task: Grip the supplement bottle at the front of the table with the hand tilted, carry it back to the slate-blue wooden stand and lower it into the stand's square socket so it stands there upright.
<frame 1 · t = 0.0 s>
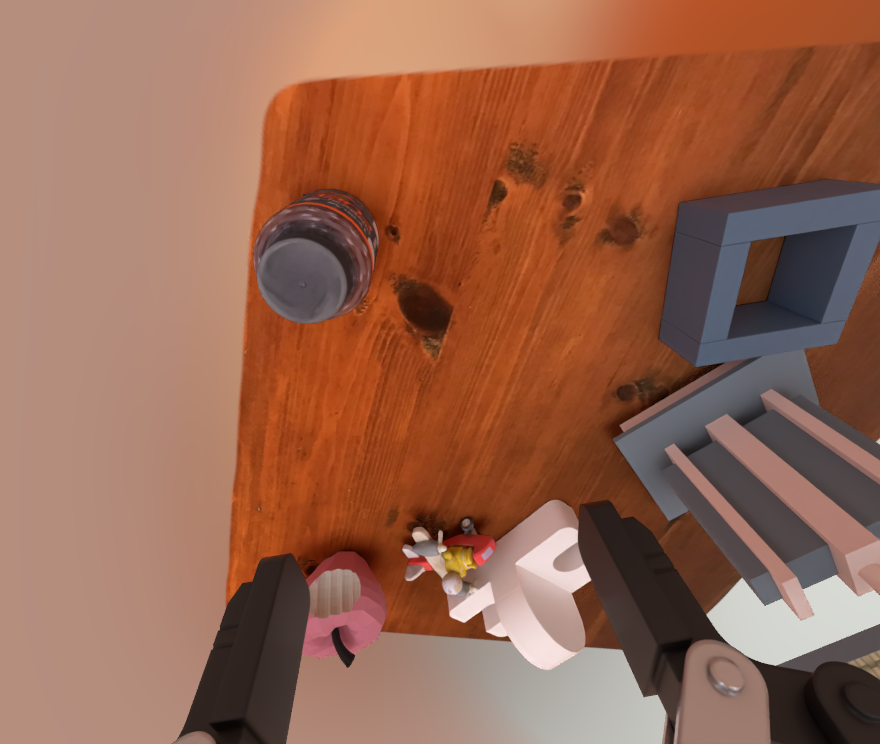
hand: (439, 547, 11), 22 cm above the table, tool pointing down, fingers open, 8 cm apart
stand: (735, 265, 32), on the table
toy airplane: (440, 536, 45), on the table
slotted arch bracket: (522, 556, 48), on the table
apple: (343, 559, 45), on the table
supplement bottle: (335, 233, 28), on the table
desk lamp: (706, 422, 40), on the table
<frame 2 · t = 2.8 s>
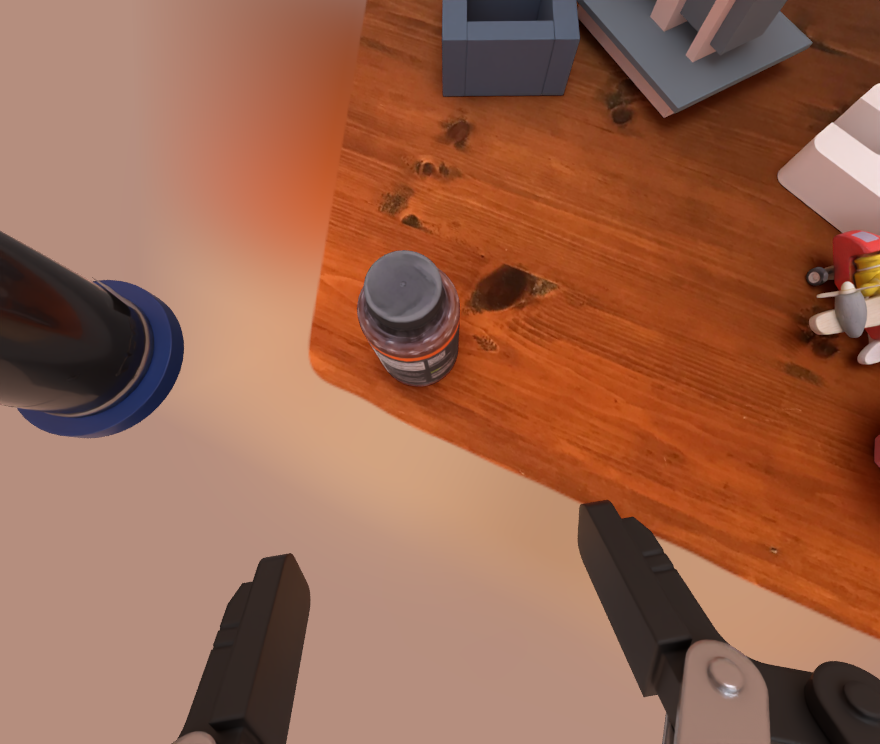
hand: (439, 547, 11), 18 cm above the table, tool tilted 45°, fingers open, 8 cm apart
stand: (501, 50, 39), on the table
toy airplane: (846, 317, 32), on the table
supplement bottle: (419, 351, 32), on the table
desk lamp: (669, 42, 39), on the table
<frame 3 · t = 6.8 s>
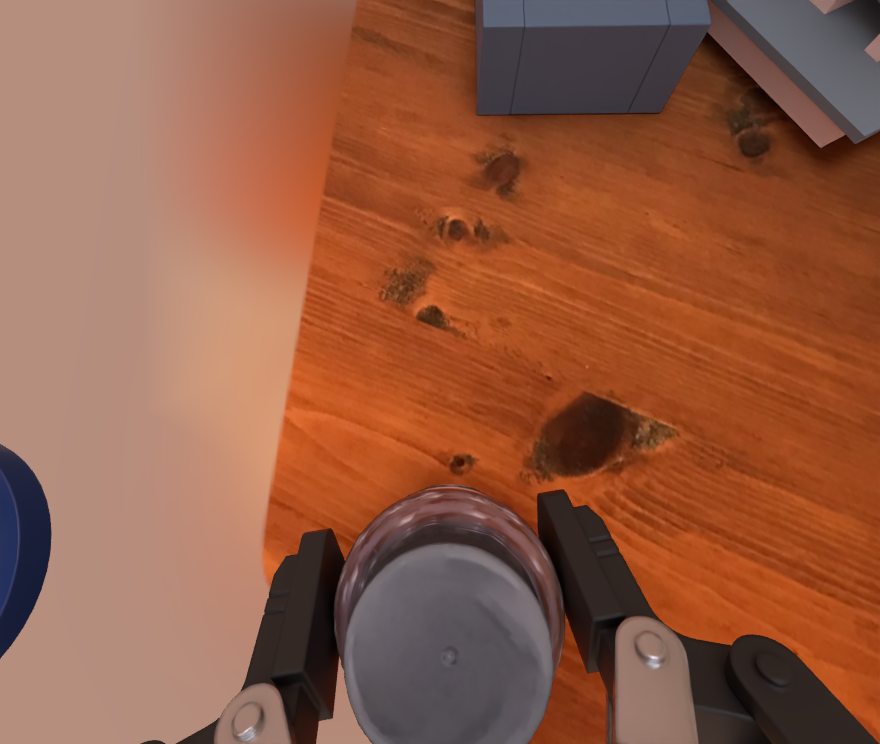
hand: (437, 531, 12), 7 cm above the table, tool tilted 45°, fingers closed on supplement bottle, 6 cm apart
stand: (562, 44, 26), on the table
supplement bottle: (449, 551, 19), on the table, touching gripper
desk lamp: (813, 32, 26), on the table
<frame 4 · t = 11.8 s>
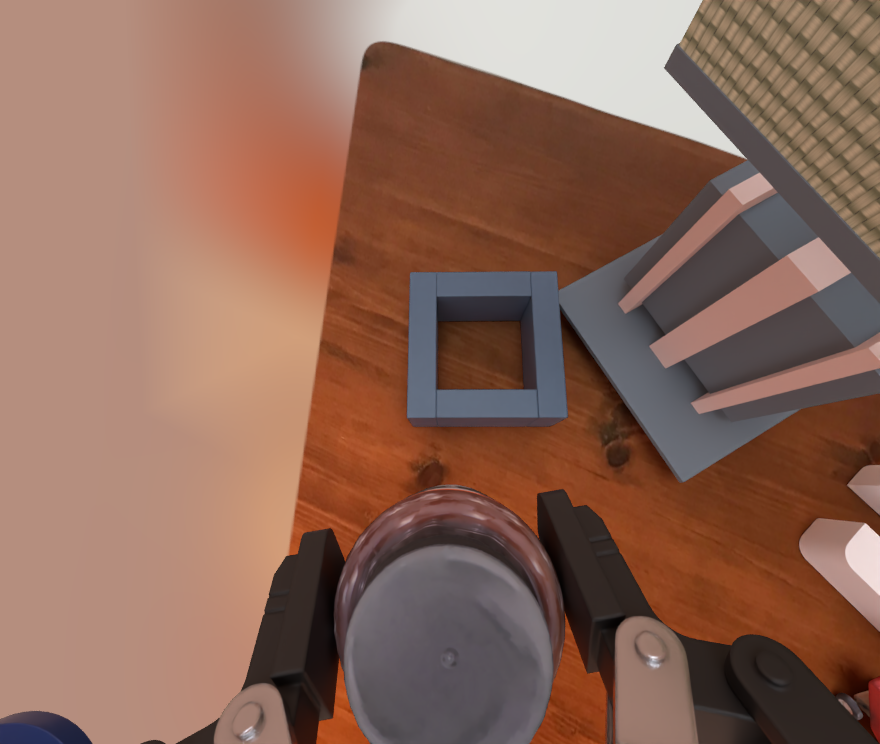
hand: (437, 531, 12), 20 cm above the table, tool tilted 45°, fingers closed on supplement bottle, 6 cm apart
stand: (480, 360, 34), on the table
supplement bottle: (449, 551, 19), point 13 cm above the table, touching gripper
desk lamp: (671, 349, 34), on the table
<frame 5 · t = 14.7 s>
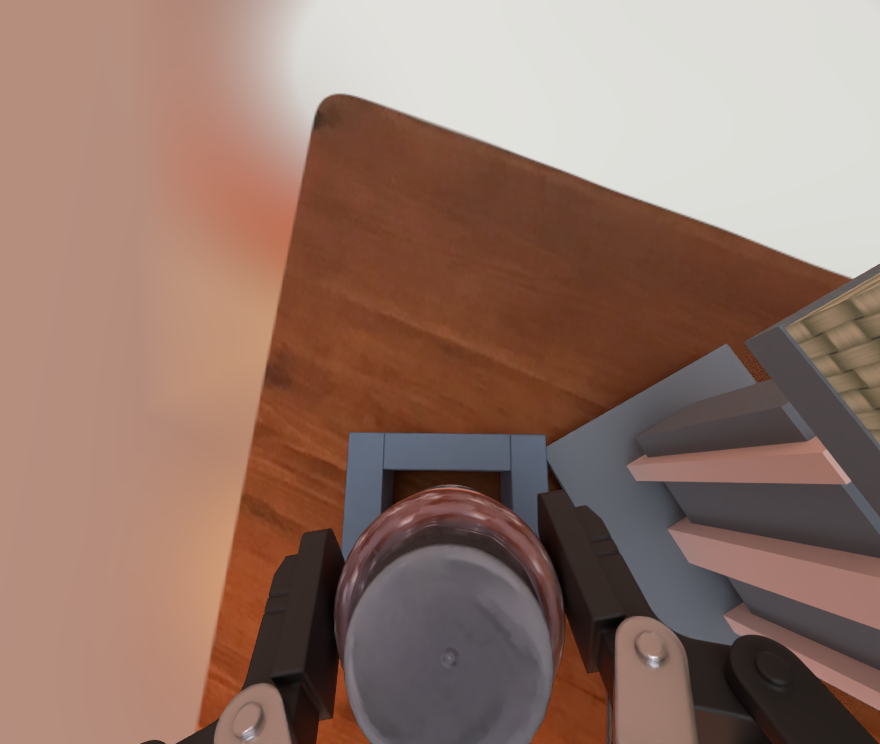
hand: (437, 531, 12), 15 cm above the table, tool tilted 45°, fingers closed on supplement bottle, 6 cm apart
stand: (446, 527, 26), on the table
supplement bottle: (449, 551, 19), point 8 cm above the table, touching gripper
desk lamp: (693, 514, 26), on the table
when the fingers open (9 cm above the table, at t = 17.1 s): supplement bottle drops 2 cm, resting in stand.
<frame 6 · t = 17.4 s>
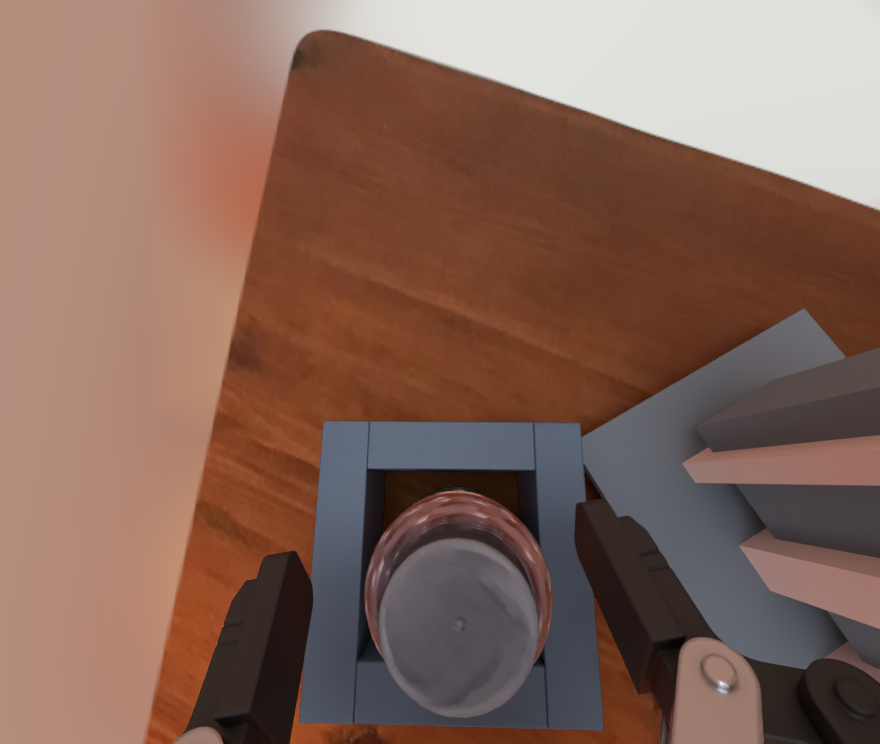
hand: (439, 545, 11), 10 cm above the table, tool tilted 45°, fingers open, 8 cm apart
stand: (450, 542, 21), on the table
supplement bottle: (456, 546, 21), resting in stand
desk lamp: (764, 525, 21), on the table
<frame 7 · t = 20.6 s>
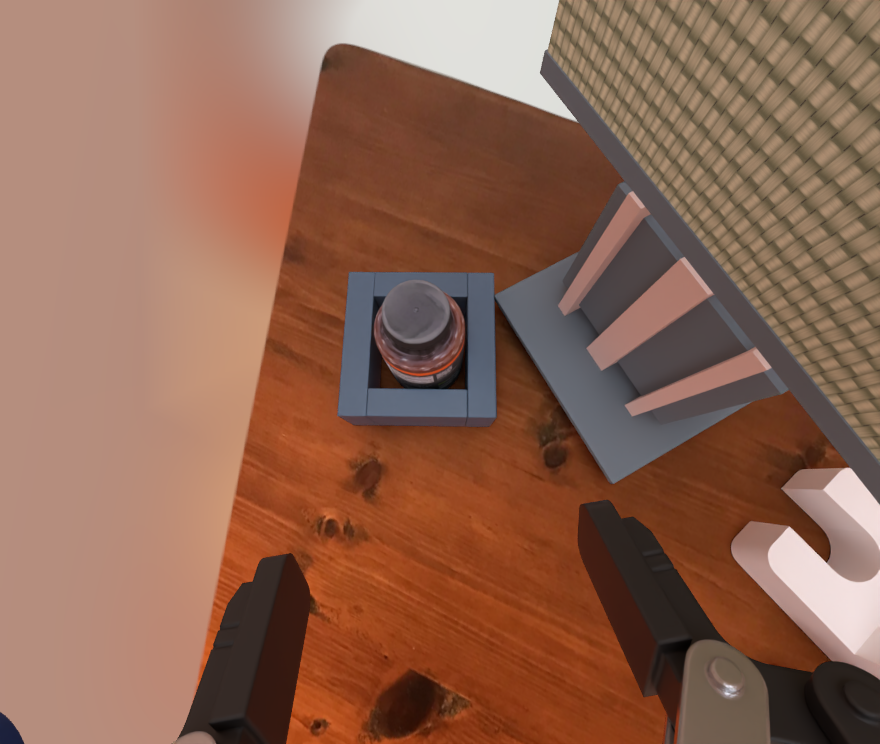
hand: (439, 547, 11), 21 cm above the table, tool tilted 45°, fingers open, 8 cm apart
stand: (423, 360, 34), on the table
slotted arch bracket: (865, 605, 29), on the table
supplement bottle: (426, 363, 34), resting in stand
desk lamp: (613, 351, 34), on the table
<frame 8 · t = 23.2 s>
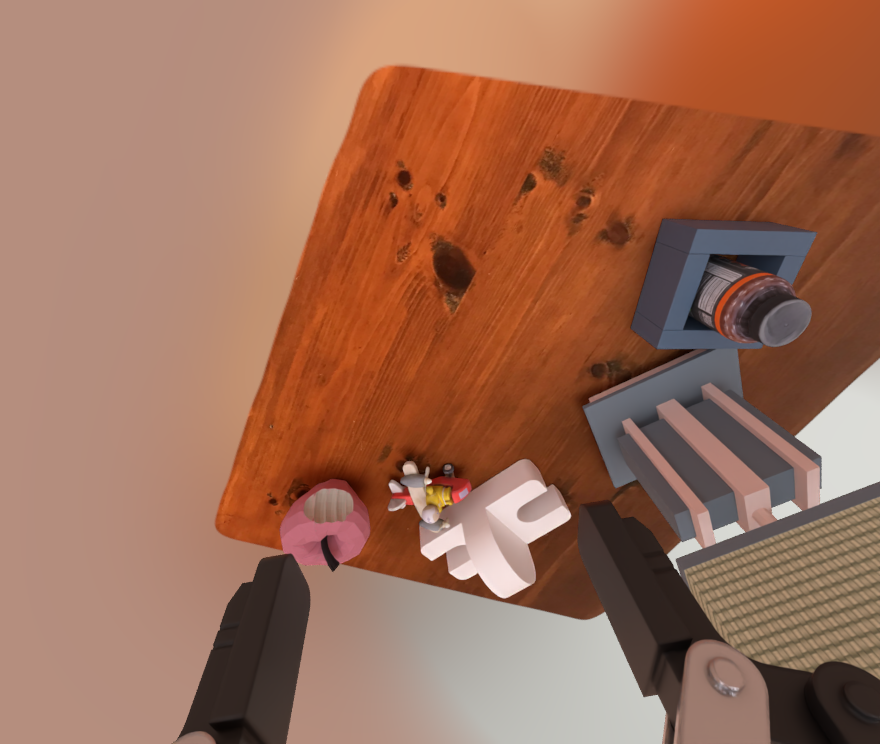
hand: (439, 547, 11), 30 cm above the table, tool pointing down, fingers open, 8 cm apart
stand: (696, 277, 41), on the table
toy airplane: (422, 479, 51), on the table
slotted arch bracket: (489, 510, 55), on the table
apple: (333, 488, 50), on the table
supplement bottle: (692, 280, 41), resting in stand
desk lamp: (656, 408, 49), on the table
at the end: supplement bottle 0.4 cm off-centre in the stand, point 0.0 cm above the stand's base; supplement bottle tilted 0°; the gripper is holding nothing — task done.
